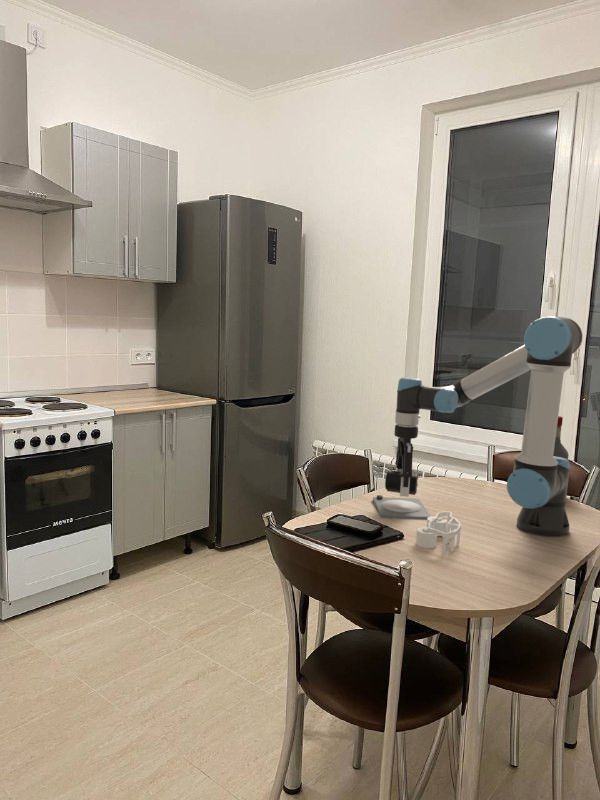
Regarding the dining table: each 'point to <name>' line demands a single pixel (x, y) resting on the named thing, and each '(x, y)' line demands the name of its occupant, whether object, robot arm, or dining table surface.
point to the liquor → (559, 442)
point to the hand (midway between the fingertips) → (401, 491)
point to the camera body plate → (400, 508)
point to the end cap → (395, 482)
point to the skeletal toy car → (439, 531)
